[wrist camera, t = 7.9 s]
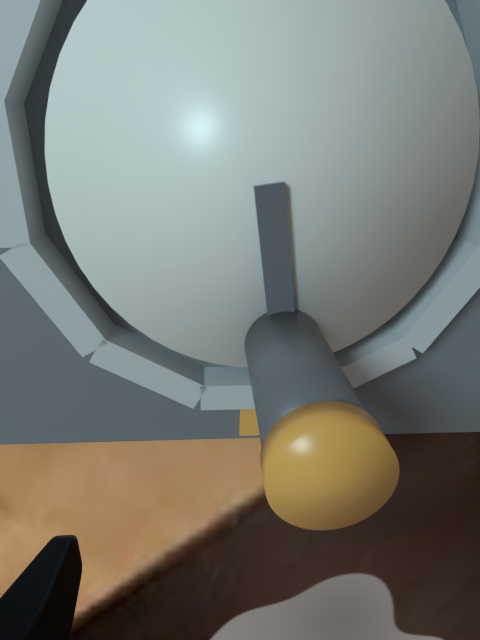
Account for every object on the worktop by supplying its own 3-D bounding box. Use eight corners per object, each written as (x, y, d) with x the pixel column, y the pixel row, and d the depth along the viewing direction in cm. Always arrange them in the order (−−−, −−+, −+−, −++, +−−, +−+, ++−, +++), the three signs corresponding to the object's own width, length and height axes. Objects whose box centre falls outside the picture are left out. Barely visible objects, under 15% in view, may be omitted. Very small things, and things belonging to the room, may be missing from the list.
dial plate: (468, 413, 23) (504, 452, 20) (4, 423, 21) (-26, 468, 18) (669, -237, 13) (797, -337, 10) (-185, -330, 11) (-318, -484, 8)
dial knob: (-4, -42, 12) (-379, -348, 4) (476, -105, 12) (938, -504, 4) (120, 383, 18) (57, 571, 10) (438, 336, 18) (606, 487, 11)
